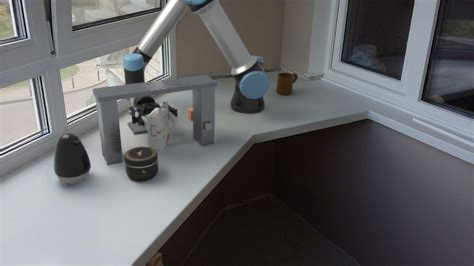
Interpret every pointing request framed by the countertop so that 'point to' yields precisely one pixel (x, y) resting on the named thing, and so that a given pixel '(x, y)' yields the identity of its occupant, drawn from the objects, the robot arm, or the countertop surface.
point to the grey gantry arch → (109, 95)
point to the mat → (137, 128)
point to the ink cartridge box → (159, 127)
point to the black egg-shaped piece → (71, 159)
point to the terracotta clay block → (190, 117)
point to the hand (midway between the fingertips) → (162, 124)
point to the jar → (141, 163)
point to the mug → (285, 83)
